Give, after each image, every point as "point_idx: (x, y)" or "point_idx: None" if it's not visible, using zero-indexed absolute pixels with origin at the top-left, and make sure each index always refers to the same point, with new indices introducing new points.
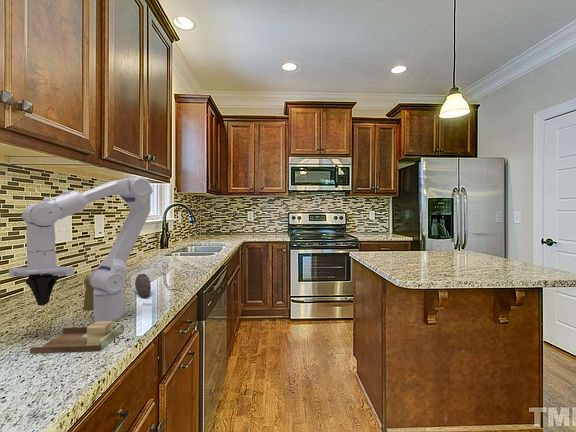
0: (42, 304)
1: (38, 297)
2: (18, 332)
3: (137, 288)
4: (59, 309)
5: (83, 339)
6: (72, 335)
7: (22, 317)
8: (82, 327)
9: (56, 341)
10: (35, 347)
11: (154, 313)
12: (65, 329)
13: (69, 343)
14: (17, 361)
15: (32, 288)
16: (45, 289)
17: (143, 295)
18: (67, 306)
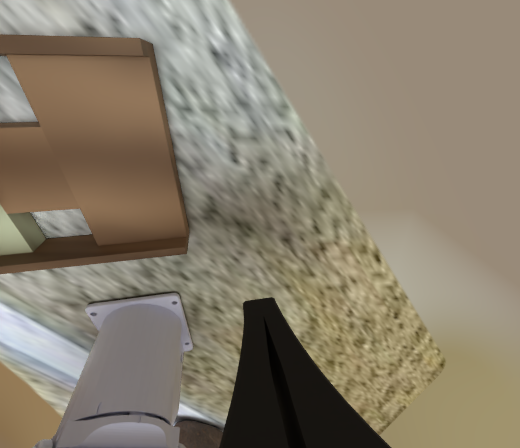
0: (248, 304)
1: (272, 339)
2: (348, 256)
3: (204, 441)
4: (329, 354)
5: (39, 188)
6: (130, 221)
7: (383, 318)
8: (115, 259)
9: (142, 170)
10: (119, 47)
11: (61, 376)
12: (175, 245)
13: (62, 150)
14: (200, 37)
15: (330, 408)
16: (228, 417)
17: (181, 424)
18: (321, 365)
